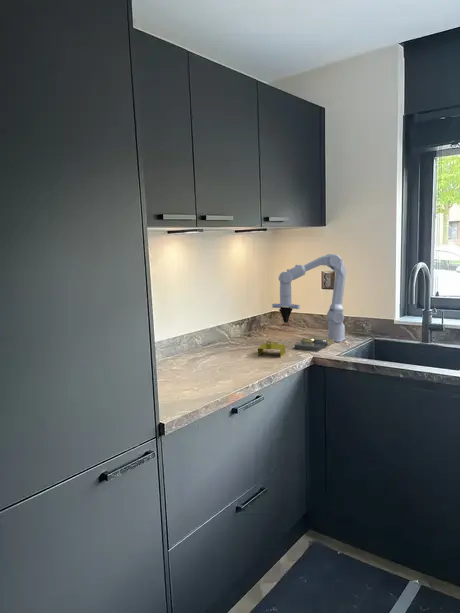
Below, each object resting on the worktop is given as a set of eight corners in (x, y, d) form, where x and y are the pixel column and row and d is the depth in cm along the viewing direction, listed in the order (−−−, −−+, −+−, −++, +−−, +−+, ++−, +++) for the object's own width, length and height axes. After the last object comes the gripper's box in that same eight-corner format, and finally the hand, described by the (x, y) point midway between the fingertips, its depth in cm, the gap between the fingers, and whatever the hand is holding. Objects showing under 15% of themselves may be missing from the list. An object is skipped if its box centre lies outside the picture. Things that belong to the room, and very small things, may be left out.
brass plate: (299, 344, 226) (299, 338, 226) (309, 340, 236) (309, 334, 235) (324, 347, 219) (324, 340, 218) (333, 342, 228) (333, 336, 228)
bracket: (292, 335, 215) (285, 341, 201) (292, 351, 216) (286, 359, 202) (260, 334, 220) (251, 340, 206) (260, 350, 221) (252, 357, 207)
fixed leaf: (294, 348, 218) (294, 341, 218) (304, 344, 228) (304, 337, 228) (320, 351, 211) (320, 344, 211) (329, 346, 221) (329, 339, 220)
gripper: (269, 296, 231) (269, 322, 232) (295, 297, 223) (295, 324, 224) (275, 294, 236) (276, 320, 238) (301, 295, 228) (301, 322, 230)
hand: (286, 322), depth 232 cm, fingers closed
